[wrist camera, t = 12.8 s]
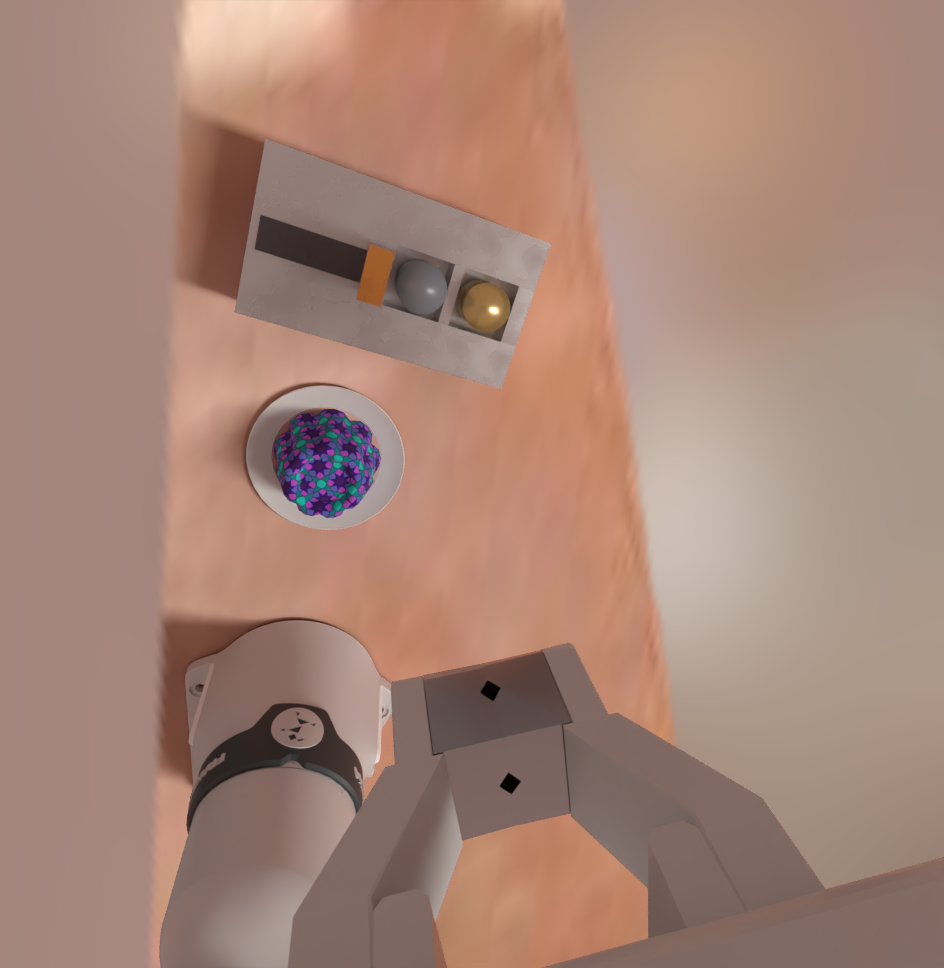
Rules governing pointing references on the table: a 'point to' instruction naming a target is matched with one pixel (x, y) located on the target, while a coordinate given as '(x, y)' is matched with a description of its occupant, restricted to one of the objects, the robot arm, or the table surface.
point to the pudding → (325, 458)
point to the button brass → (483, 305)
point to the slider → (375, 274)
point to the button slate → (420, 286)
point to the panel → (411, 235)
